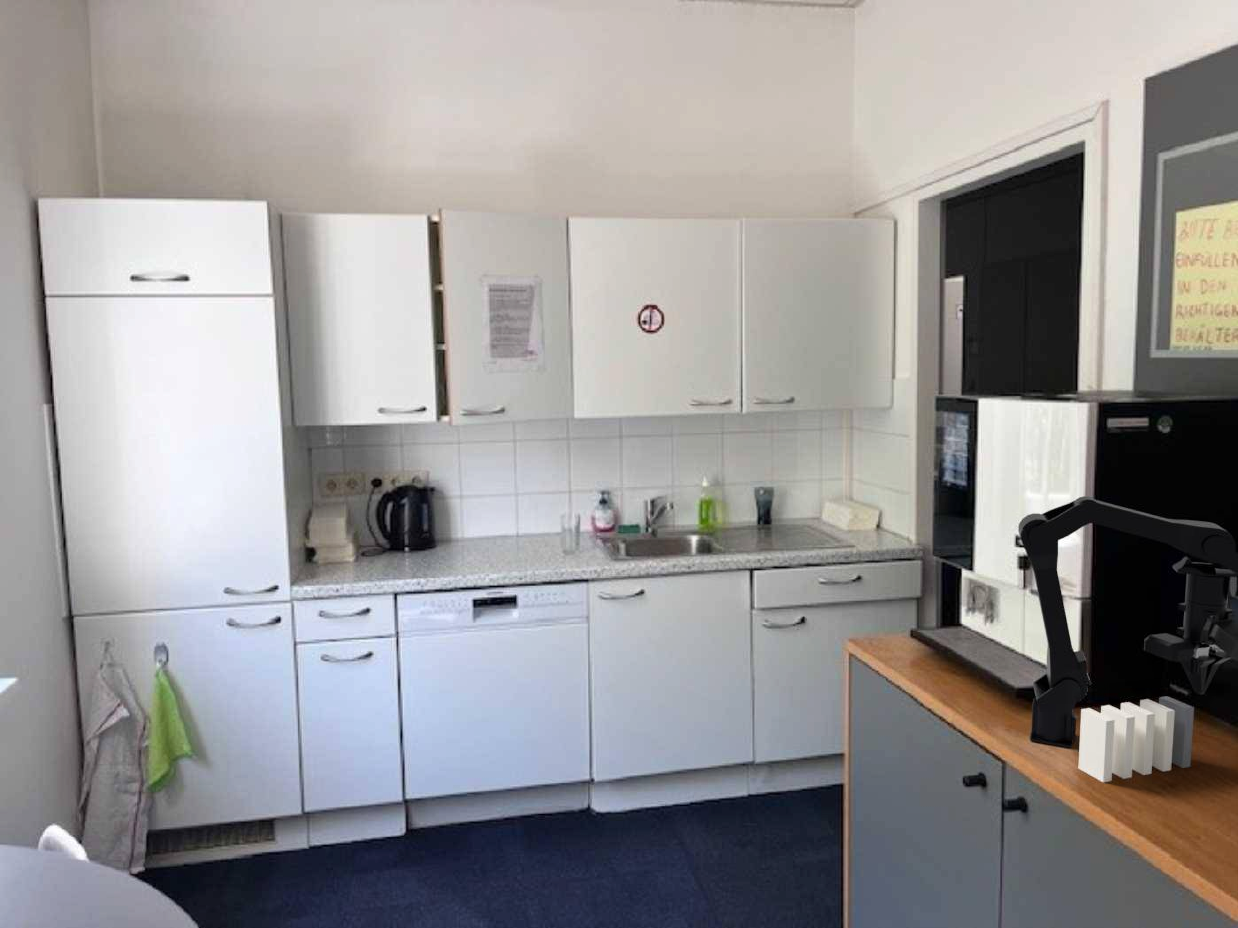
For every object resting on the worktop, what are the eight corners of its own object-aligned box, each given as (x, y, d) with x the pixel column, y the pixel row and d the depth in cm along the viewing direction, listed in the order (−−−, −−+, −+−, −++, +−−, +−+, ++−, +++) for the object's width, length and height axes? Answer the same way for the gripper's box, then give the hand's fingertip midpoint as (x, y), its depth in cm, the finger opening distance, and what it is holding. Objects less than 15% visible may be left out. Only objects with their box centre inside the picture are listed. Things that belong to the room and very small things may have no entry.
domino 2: (1123, 778, 139) (1126, 717, 137) (1098, 764, 143) (1101, 706, 142) (1131, 777, 139) (1135, 716, 138) (1106, 763, 144) (1109, 704, 143)
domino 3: (1143, 774, 140) (1147, 714, 138) (1117, 761, 144) (1120, 703, 143) (1151, 773, 140) (1155, 713, 139) (1125, 760, 145) (1128, 701, 144)
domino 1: (1103, 782, 137) (1106, 721, 136) (1078, 768, 142) (1081, 709, 141) (1111, 780, 138) (1114, 719, 137) (1086, 766, 143) (1089, 707, 141)
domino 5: (1182, 767, 142) (1186, 708, 141) (1155, 754, 147) (1159, 697, 145) (1190, 766, 142) (1194, 707, 141) (1163, 753, 147) (1166, 696, 146)
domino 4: (1163, 771, 141) (1166, 711, 140) (1136, 757, 145) (1140, 700, 144) (1170, 769, 141) (1174, 710, 140) (1144, 756, 146) (1148, 698, 145)
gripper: (1207, 620, 132) (1199, 719, 134) (1299, 609, 137) (1291, 704, 139) (1144, 600, 143) (1138, 692, 145) (1232, 591, 148) (1225, 680, 150)
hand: (1199, 693), depth 144 cm, fingers closed
